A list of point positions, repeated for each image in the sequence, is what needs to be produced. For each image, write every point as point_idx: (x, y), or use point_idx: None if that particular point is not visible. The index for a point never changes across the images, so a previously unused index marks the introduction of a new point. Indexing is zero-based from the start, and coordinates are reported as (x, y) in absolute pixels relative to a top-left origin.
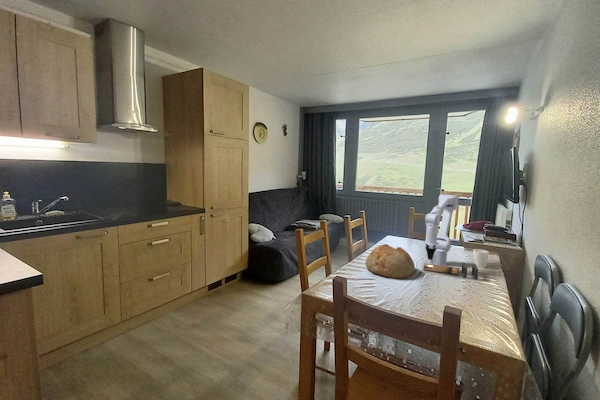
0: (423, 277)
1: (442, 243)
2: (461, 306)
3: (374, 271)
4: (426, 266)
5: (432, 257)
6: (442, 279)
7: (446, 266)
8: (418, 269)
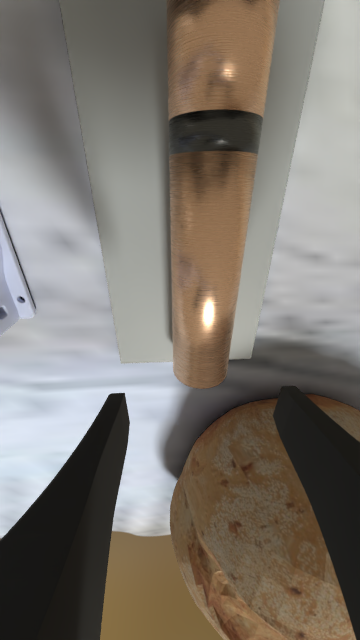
0: (315, 341)
1: None
2: None
3: None
4: (228, 360)
5: (319, 411)
6: (337, 225)
7: (224, 188)
8: None
